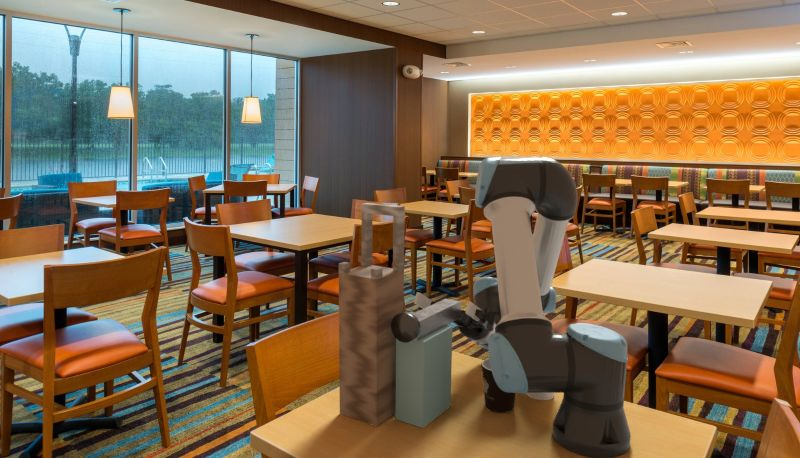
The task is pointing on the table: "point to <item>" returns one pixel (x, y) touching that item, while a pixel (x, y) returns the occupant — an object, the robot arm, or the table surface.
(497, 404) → the coffee mug
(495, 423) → the table surface
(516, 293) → the robot arm
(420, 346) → the teal pedestal
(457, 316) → the grey elongated piece
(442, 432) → the table surface
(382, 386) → the walnut stand
